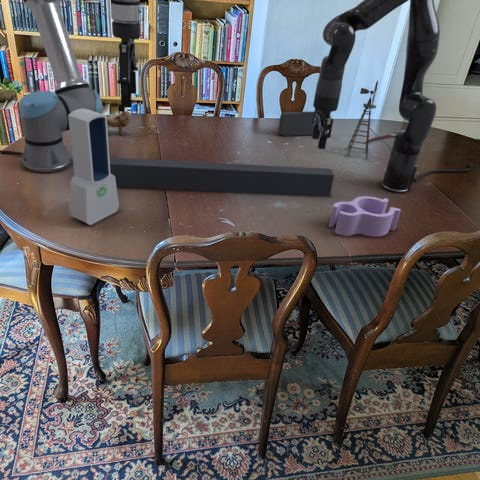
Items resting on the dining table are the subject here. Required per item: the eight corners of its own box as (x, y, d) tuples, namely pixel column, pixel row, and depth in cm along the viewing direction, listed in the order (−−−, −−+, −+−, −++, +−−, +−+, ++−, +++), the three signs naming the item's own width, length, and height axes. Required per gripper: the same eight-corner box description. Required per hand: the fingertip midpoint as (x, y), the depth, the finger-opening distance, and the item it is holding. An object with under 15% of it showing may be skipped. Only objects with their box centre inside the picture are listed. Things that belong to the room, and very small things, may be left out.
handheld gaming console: (323, 132, 212) (327, 111, 207) (326, 134, 210) (330, 113, 205) (277, 134, 205) (280, 111, 200) (279, 136, 203) (282, 113, 198)
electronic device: (87, 227, 129) (77, 121, 112) (68, 218, 132) (56, 113, 115) (120, 210, 138) (114, 110, 122) (101, 202, 141) (94, 103, 125)
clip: (342, 240, 135) (347, 220, 131) (322, 219, 145) (326, 199, 141) (399, 234, 141) (406, 214, 137) (377, 213, 151) (382, 194, 147)
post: (109, 187, 150) (108, 163, 145) (111, 180, 154) (110, 157, 150) (329, 196, 159) (334, 175, 154) (326, 189, 163) (330, 168, 158)
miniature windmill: (367, 159, 190) (386, 84, 173) (346, 156, 191) (363, 81, 174) (366, 151, 197) (385, 79, 181) (346, 148, 198) (363, 76, 182)
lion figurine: (130, 130, 193) (129, 109, 188) (132, 135, 188) (131, 113, 184) (93, 131, 188) (91, 109, 183) (94, 136, 184) (93, 114, 179)
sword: (403, 131, 224) (404, 129, 223) (408, 133, 222) (409, 131, 221) (360, 143, 208) (360, 140, 207) (365, 145, 206) (366, 142, 205)
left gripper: (135, 30, 116) (138, 113, 127) (144, 15, 137) (145, 89, 148) (104, 27, 115) (109, 112, 127) (118, 13, 136) (121, 87, 147)
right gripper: (346, 100, 136) (335, 152, 145) (333, 87, 148) (324, 136, 157) (321, 99, 135) (311, 151, 144) (310, 85, 147) (302, 134, 156)
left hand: (129, 99), depth 137 cm, fingers open, 13 cm apart
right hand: (318, 143), depth 150 cm, fingers open, 8 cm apart
